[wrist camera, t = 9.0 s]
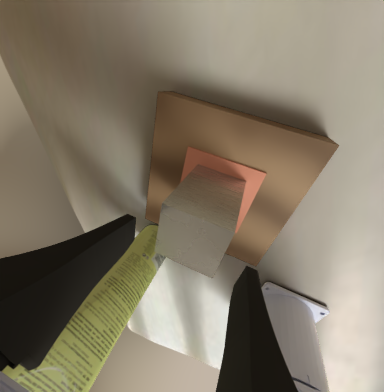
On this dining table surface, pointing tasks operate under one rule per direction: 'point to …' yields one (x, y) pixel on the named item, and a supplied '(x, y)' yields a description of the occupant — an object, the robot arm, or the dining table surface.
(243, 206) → the board
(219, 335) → the dining table surface
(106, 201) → the dining table surface
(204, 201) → the steel column
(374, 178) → the dining table surface
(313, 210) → the dining table surface
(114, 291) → the tube
